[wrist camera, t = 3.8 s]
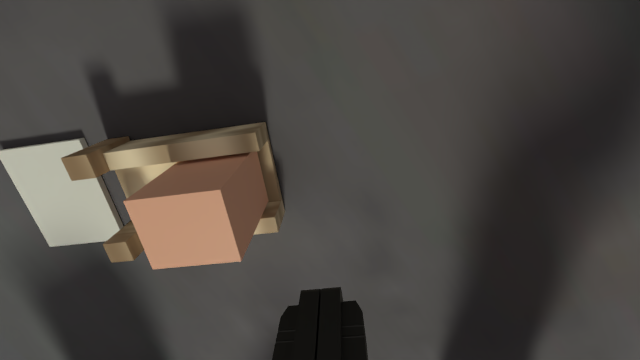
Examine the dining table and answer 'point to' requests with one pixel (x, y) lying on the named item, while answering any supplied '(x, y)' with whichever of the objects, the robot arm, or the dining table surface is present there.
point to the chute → (163, 152)
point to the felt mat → (61, 194)
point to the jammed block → (200, 211)
